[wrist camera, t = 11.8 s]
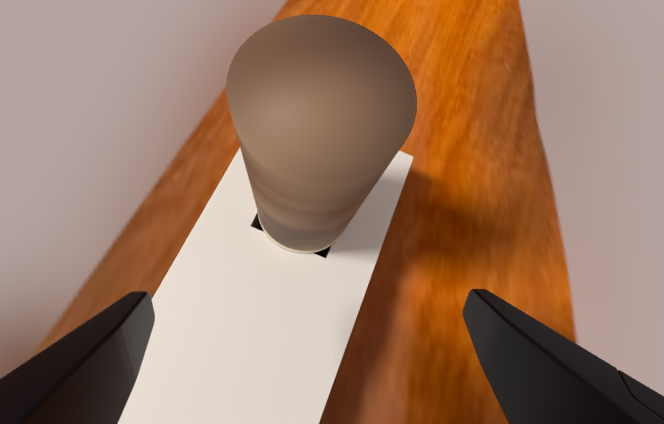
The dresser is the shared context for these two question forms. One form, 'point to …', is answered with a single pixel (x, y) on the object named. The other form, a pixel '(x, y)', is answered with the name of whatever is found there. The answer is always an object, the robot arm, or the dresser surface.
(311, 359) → the board
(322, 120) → the peg
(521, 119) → the dresser surface
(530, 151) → the dresser surface
